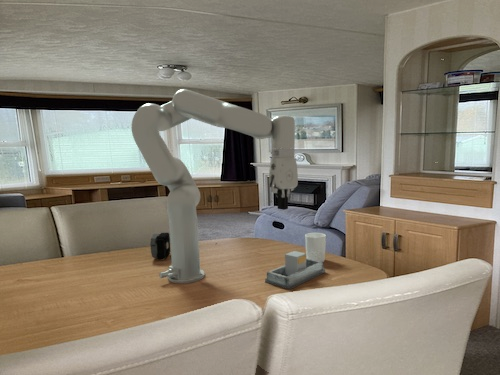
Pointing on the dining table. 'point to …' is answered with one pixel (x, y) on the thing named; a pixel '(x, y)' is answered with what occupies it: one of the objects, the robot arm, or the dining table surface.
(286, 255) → the block
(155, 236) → the cpu cooler
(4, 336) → the dining table surface
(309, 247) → the white cup
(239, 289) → the dining table surface
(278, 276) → the rail
